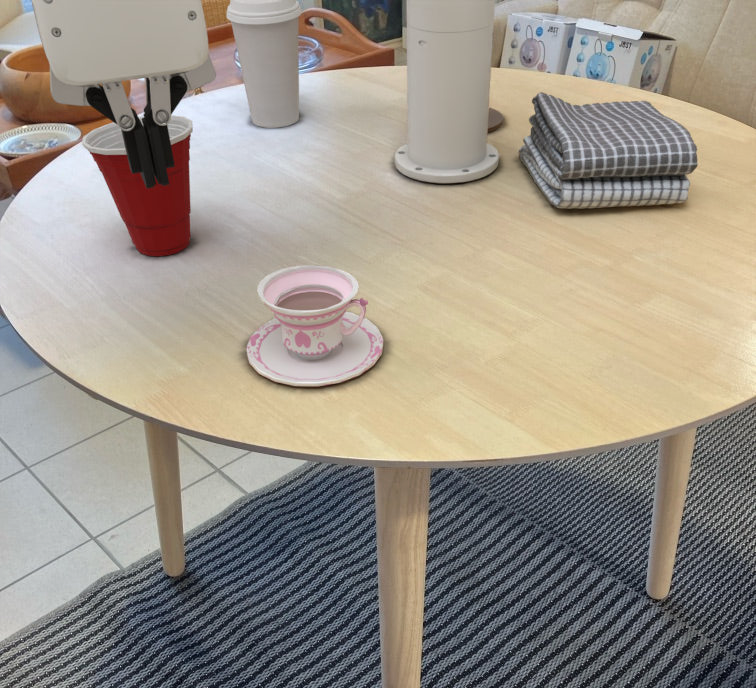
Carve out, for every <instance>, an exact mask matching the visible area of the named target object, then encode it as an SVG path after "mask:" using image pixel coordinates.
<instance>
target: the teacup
mask: <svg viewBox="0 0 756 688" xmlns="http://www.w3.org/2000/svg"><path fill="white" fill-rule="evenodd" d="M359 289H360V286H359V282H358V280H357V279H356V277H355V276H354V275H352V274H351V273H349V272H348V271H345V270H343V269H341V268H337V267H333V266H328V265H319V264H316V265H315V264H303V265H294V266H289V267H284V268H280V269H278V270H275V271H272V272H271V273H269V274H267V275H266V276H265V277H263V278H262V279H261V280H260V281H259V283H258V285H257V289H256V291H257V292H256V293H257V296H258V298H260V299H261V301H262V302H263V304H264V305H265V306H266V308H267V309H269V311H270V312H271V313H272V314H273V316H274V318H272V319H270V320H269V321H267V322H265V323H264V324H262V325H260V326H259V327H258V328H257V329H256V330H255V331H254V332H253V333H252V334H251V335H250V337H249V339H248V342H247V344H246V348H245V352H246V356H247V361H248V363H249V365H250V366H251V367H252V368H253V370H255V371H256V372H257V373H258V374H259V375H260V376H262V377H265V378H267V379H268V380H271V381H272V382H276V383H280V384H284V385H288V386H292V387H324V386H330V385H334V384H340V383H343V382H345V381H348V380H351V379H354V378H356V377H358V376H360V375H362V374H364V373H365V372H366V371H368V370H369V369H371V368H372V367H373V366H375V364H376V363H377V361H379V359H380V357H381V356H382V354H383V348H384V337H383V335H382V332H381V331H380V329H379V328H378V326H376V325H375V324H374V323H373V322H372V321H370V320H369V319H368V318H366V314H367V305H368V304H369V300H365V299H364V298H363V297H360V299H359V298H355V297H356V295H357V294H358V292H359ZM352 307H358V308H359V310H360V314H357V313H355V312H352V311H347V309H349V308H352Z"/></svg>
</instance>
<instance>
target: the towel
mask: <svg viewBox="0 0 756 688" xmlns="http://www.w3.org/2000/svg"><path fill="white" fill-rule="evenodd" d="M531 103H532V104H533V110H534V114H533V115H531V116H529V118H528V122H529V124H530V125H531V128H530V135H527V136H526V137H524V138H523V139H522V141H523V143H524V145H522V146H521V147H520V148H519V149H518V155H519V160H520V162H522V164H523V165H524V166H525V168H526V169H527V170H528V172H529V174H530V176H531V177H532V179H533V181H534V183H535V184H536V186H537V187H538V188H539V190H540V191H541V192H542V195H544V197H545V198H546V199H547V201H548V202H549V204H550V205H552V206H553V207H555V208H557V209H568V210H569V209H595V208H596V209H600V208H601V209H602V208H614V207H634V206H635V207H640V206H641V207H642V206H653V205H654V206H660V205H672V204H673V205H674V204H680V203H686V202H687V201H688V199H689V189H690V185H691V182H690V179H689V178H688V177H687V175H691V174H692V173H694V171H695V170H696V169H697V168H698V164H699V163H698V153H697V151H698V148H697V145H696V143H695V140H694V139H693V137H692V135H691V133H690V131H689V130H688V129H687V128H686V127H685V126H684V125H682V124H681V123H680V122H678V121H676V119H673V118H670V117H668V116H666V115H664V114H663V113H661V112H660V111H659V110H658V109H657V108H655V107H654V105H652V103H651V102H649V101H648V100H640V101H639V100H631V101H624V100H622V101H612V102H607V101H606V102H601V103H599V102H595V103H594V102H593V103H590V104H589V103H586V104H581V105H579V104H571V103H570V102H567V101H564V100H563V99H562V98H560V97H555V96H554V95H552V94H547V93H545V92H542V91H540V92H538V93H537V94H536V95H535V96H534V97H533V98H532V99H531Z"/></svg>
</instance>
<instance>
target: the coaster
mask: <svg viewBox="0 0 756 688" xmlns="http://www.w3.org/2000/svg"><path fill="white" fill-rule="evenodd" d="M503 124H504V116H503V114H502V113H501V112H500V111H499V110H497V109H495V108H493V107H489V114H488V132H487V134H489V133H492V132H495V131H497V130H499V128H501V127H502V126H503Z"/></svg>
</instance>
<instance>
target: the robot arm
mask: <svg viewBox="0 0 756 688" xmlns="http://www.w3.org/2000/svg"><path fill="white" fill-rule="evenodd" d="M30 2H31V7H32V9H33V14H34V18H35V23H36V26H37V27H36V28H37V30H38V35H39V39H40V42H41V44H42V48H43V51H44V55H45V57H46V58H47V61H48V64H49V86H50V88H49V89H50V94H51V98H52V99H53V100H54V101H55V102H56V103H58V104H61V105H69V106H78V107H79V106H80V107H91V108H93V109H94V110H96V111H97V112H98V113H100V114H101V115H102V116H104V117H105V118H107V119H108V120H110V121H111V122H112V123H113V122H114V123H116V124H117V125H118V126H119V128H120V129H121V131H122V136H123V140H124V145H125V149H126V153H127V158H128V162H129V166H130V170H131V172H132V174H135V173H141V176H142V178H143V181H144V183H145V186H146V188H147V189H148V188H154V185H156V180H155V177H156V179H157V182H158V184H161V185H162V186H166V185H169V179H168V174H167V169H166V168H171V167H175V164H174V158H173V153H172V147H171V142H170V137H169V132H168V126H167V124H168V123H169V122H170V120H171V115H173V113H174V111H175V110H176V109H177V107H178V106H179V104H180V102H181V101H182V100H183V98H184V97H185V95H186V94H187V93H188V92H190V91H194V90H197V89H199V88H201V87H204V86H206V85H209V84H210V83H213V82H214V81H215V80H216V78H217V72H216V69H215V67H214V64H213V61H212V59H211V55H210V54H209V37H208V30H207V24H206V19H205V18H206V17H205V13H204V8H203V4H202V0H30ZM405 3H406V114H407V115H406V117H407V118H406V122H407V123H406V124H407V125H406V127H407V130H406V131H407V133H406V134H407V139H406V140H407V142H406V143H404V144H403V145H401V146H400V147H398V149H397V150H396V151H395V154H394V166H395V168H396V169H397V170H398V172H400V173H401V174H402V175H404V176H405V177H408V178H410V179H413V180H416V181H420V182H425V183H431V184H432V183H433V184H458V183H460V184H461V183H467V182H471V181H476V180H479V179H481V178H484V177H486V176H488V175H490V174H491V173H494V171H495V170H496V169H497V168H498V167H499V163H500V153H499V151H498V150H497V148H496V147H495V146H494V145H492V144H491V143H489V142H488V133H487V132H488V114H489V108H490V95H491V79H492V77H491V76H492V61H493V60H492V58H493V57H492V56H493V44H494V43H493V39H494V25H495V24H494V23H495V0H406V2H405ZM140 79H144V87H145V106H144V108H143V116H144V118H142V123H143V125H142V123H141V121H140V119H139V118H138V117H139V115H138V113H137V112H136V109H134V108H132V107H131V104H130V102H129V99H128V96H127V94H126V91H125V88H124V85H123V83H122V82H126V81H133V80H140Z"/></svg>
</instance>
